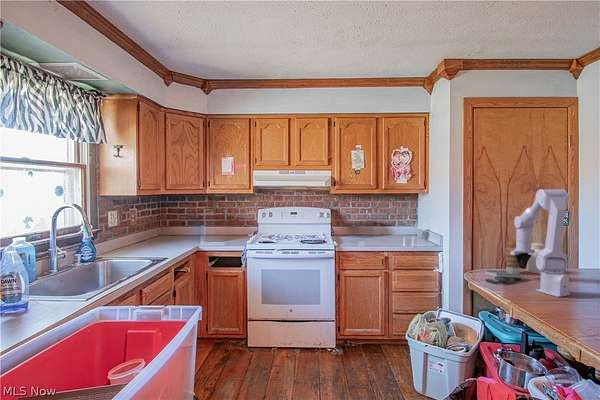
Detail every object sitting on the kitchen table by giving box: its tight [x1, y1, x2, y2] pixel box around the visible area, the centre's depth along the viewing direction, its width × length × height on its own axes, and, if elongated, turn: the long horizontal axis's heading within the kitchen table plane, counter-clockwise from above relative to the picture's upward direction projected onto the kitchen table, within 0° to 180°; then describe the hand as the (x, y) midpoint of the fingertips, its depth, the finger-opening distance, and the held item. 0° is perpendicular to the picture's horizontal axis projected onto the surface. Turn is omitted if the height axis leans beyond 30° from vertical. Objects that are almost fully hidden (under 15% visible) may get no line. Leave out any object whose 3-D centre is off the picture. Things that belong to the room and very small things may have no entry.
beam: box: [484, 269, 524, 279], centre depth 163 cm, size 6×18×2 cm, turn 112°
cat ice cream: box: [504, 237, 519, 268], centre depth 178 cm, size 9×8×18 cm
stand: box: [485, 276, 523, 285], centre depth 163 cm, size 7×18×2 cm, turn 112°
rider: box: [505, 266, 521, 274], centre depth 165 cm, size 3×5×4 cm
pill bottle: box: [526, 242, 544, 275], centre depth 180 cm, size 8×8×15 cm
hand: (522, 268), depth 168 cm, fingers closed
